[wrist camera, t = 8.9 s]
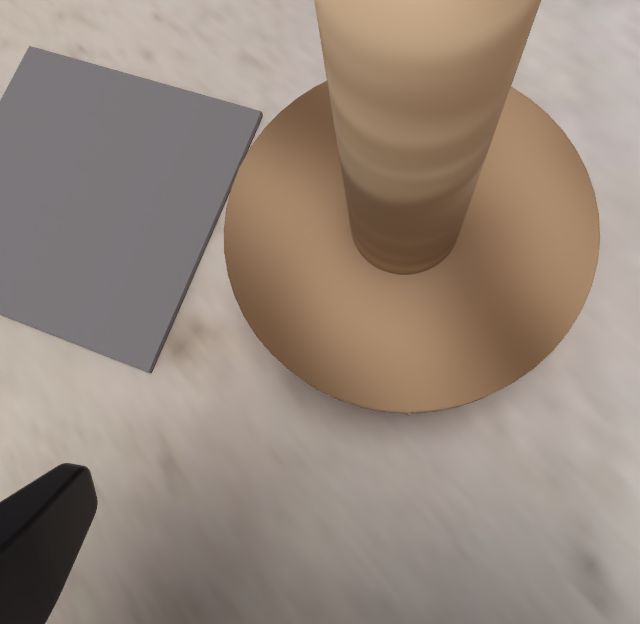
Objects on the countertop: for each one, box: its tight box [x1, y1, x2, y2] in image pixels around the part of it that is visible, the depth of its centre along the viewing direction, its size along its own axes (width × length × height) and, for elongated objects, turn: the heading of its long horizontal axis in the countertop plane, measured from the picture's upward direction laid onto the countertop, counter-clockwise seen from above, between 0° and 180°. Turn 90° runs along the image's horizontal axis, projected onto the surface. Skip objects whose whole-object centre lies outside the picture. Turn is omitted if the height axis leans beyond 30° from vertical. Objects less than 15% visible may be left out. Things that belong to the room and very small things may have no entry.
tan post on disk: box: [224, 0, 600, 413], centre depth 13 cm, size 11×11×11 cm
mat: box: [0, 46, 263, 373], centre depth 24 cm, size 12×12×1 cm
